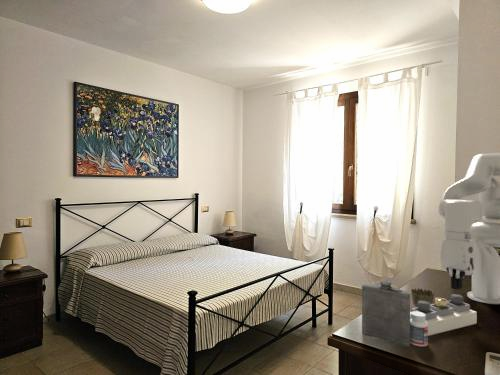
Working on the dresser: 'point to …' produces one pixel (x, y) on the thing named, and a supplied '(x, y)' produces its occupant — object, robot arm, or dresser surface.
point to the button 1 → (424, 306)
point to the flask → (386, 313)
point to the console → (448, 317)
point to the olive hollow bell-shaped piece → (422, 296)
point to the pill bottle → (418, 329)
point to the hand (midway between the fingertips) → (456, 288)
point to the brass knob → (441, 303)
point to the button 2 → (456, 299)
